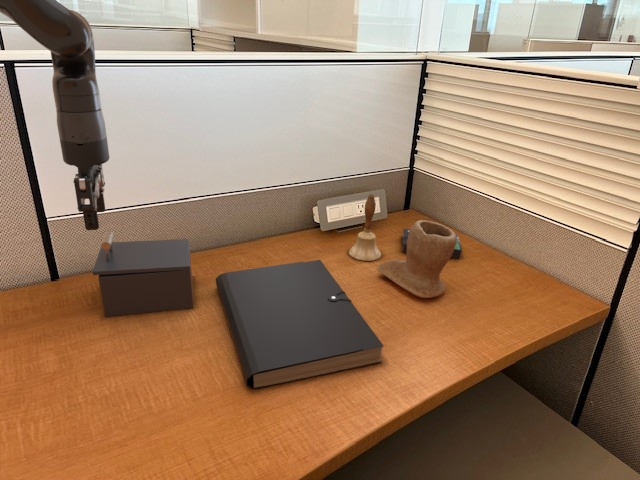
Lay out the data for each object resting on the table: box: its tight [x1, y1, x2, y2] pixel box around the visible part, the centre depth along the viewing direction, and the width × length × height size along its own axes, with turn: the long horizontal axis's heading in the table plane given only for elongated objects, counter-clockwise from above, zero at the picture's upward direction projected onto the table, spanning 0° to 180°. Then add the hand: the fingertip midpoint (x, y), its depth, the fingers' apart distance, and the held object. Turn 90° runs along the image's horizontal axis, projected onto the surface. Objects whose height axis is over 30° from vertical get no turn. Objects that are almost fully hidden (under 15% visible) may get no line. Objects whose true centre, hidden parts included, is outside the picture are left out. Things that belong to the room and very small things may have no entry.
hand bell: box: [348, 194, 382, 262], centre depth 119 cm, size 8×8×16 cm
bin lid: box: [92, 230, 191, 276], centre depth 95 cm, size 17×13×5 cm
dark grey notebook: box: [215, 259, 384, 390], centre depth 93 cm, size 33×4×24 cm
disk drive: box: [402, 228, 463, 259], centre depth 127 cm, size 10×3×15 cm
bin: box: [97, 244, 194, 318], centre depth 99 cm, size 17×13×9 cm
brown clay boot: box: [376, 219, 457, 299], centre depth 106 cm, size 15×12×15 cm
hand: (96, 220), depth 91 cm, fingers open, 8 cm apart
